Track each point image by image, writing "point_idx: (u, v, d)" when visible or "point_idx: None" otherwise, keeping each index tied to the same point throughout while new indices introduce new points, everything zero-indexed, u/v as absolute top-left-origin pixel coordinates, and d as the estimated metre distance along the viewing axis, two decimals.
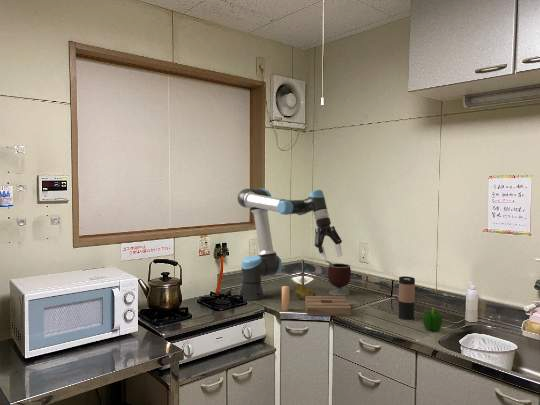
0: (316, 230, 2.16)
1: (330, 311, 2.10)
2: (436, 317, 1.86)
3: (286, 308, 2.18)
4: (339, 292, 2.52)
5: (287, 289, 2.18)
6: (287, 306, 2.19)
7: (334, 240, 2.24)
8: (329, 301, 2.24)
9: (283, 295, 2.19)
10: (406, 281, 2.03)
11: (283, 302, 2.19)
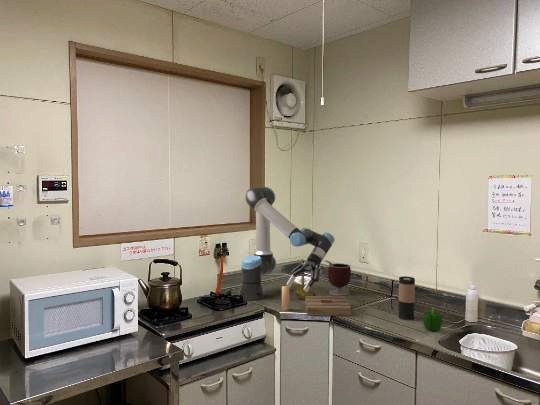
0: (319, 267, 2.23)
1: (330, 311, 2.10)
2: (436, 317, 1.86)
3: (286, 308, 2.18)
4: (339, 292, 2.52)
5: (287, 289, 2.18)
6: (287, 306, 2.19)
7: (297, 273, 2.31)
8: (329, 301, 2.24)
9: (283, 295, 2.19)
10: (406, 281, 2.03)
11: (283, 302, 2.19)
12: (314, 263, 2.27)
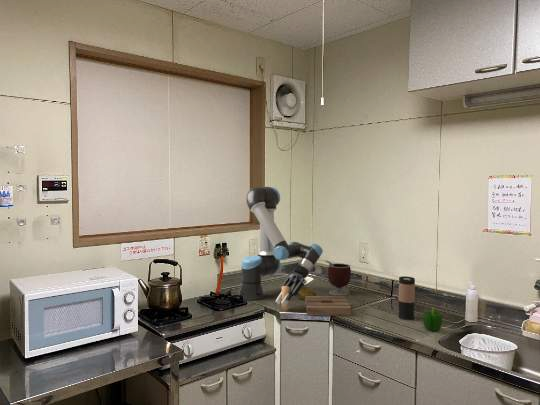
0: (303, 281, 2.19)
1: (330, 311, 2.10)
2: (436, 317, 1.86)
3: (286, 308, 2.18)
4: (339, 292, 2.52)
5: (287, 289, 2.18)
6: (287, 306, 2.19)
7: None
8: (329, 301, 2.24)
9: (283, 295, 2.19)
10: (406, 281, 2.03)
11: None
12: (301, 275, 2.22)
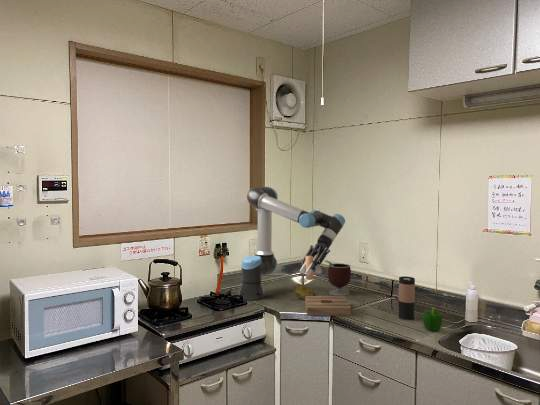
0: (327, 250, 2.18)
1: (330, 311, 2.10)
2: (436, 317, 1.86)
3: (310, 277, 2.17)
4: (339, 292, 2.52)
5: (311, 258, 2.17)
6: (311, 275, 2.17)
7: None
8: (329, 301, 2.24)
9: (307, 264, 2.17)
10: (406, 281, 2.03)
11: None
12: (325, 244, 2.21)
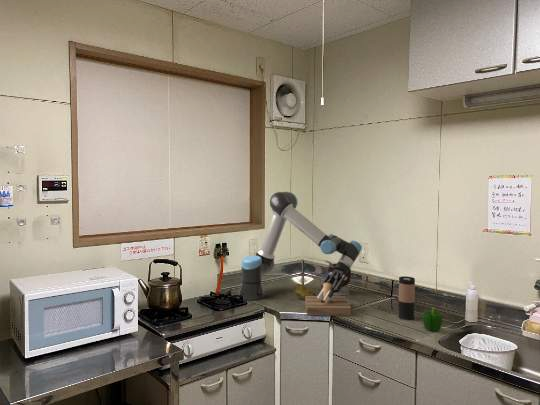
0: (345, 278, 2.20)
1: (330, 311, 2.10)
2: (436, 317, 1.86)
3: None
4: (339, 292, 2.52)
5: (329, 286, 2.19)
6: None
7: None
8: None
9: (325, 292, 2.20)
10: (406, 281, 2.03)
11: None
12: (342, 272, 2.24)
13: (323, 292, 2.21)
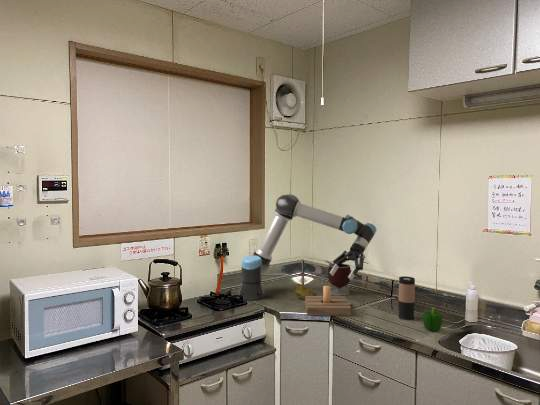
0: (363, 256, 2.28)
1: (330, 311, 2.10)
2: (436, 317, 1.86)
3: None
4: (339, 292, 2.52)
5: (329, 289, 2.19)
6: None
7: (340, 262, 2.35)
8: None
9: (325, 295, 2.20)
10: (406, 281, 2.03)
11: (325, 302, 2.20)
12: (357, 252, 2.31)
13: (323, 295, 2.21)
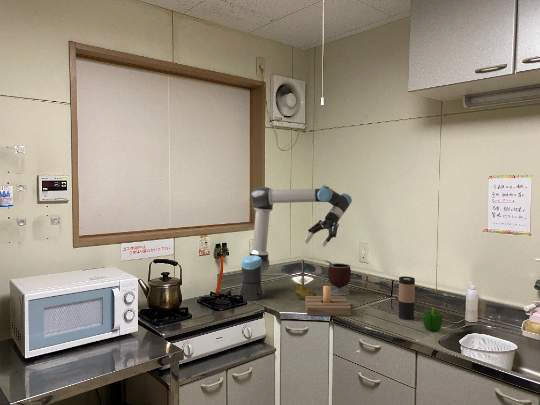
0: (337, 224, 2.31)
1: (330, 311, 2.10)
2: (436, 317, 1.86)
3: None
4: (339, 292, 2.52)
5: (329, 289, 2.19)
6: None
7: (315, 230, 2.38)
8: None
9: (325, 295, 2.20)
10: (406, 281, 2.03)
11: (325, 302, 2.20)
12: (332, 221, 2.35)
13: (323, 295, 2.21)
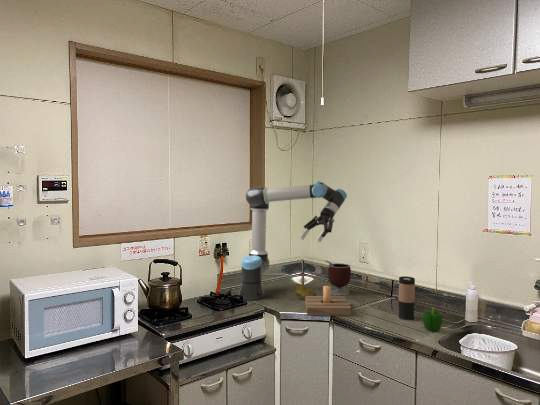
0: (332, 219, 2.32)
1: (330, 311, 2.10)
2: (436, 317, 1.86)
3: None
4: (339, 292, 2.52)
5: (329, 289, 2.19)
6: None
7: (311, 226, 2.39)
8: None
9: (325, 295, 2.20)
10: (406, 281, 2.03)
11: (325, 302, 2.20)
12: (327, 216, 2.35)
13: (323, 295, 2.21)
